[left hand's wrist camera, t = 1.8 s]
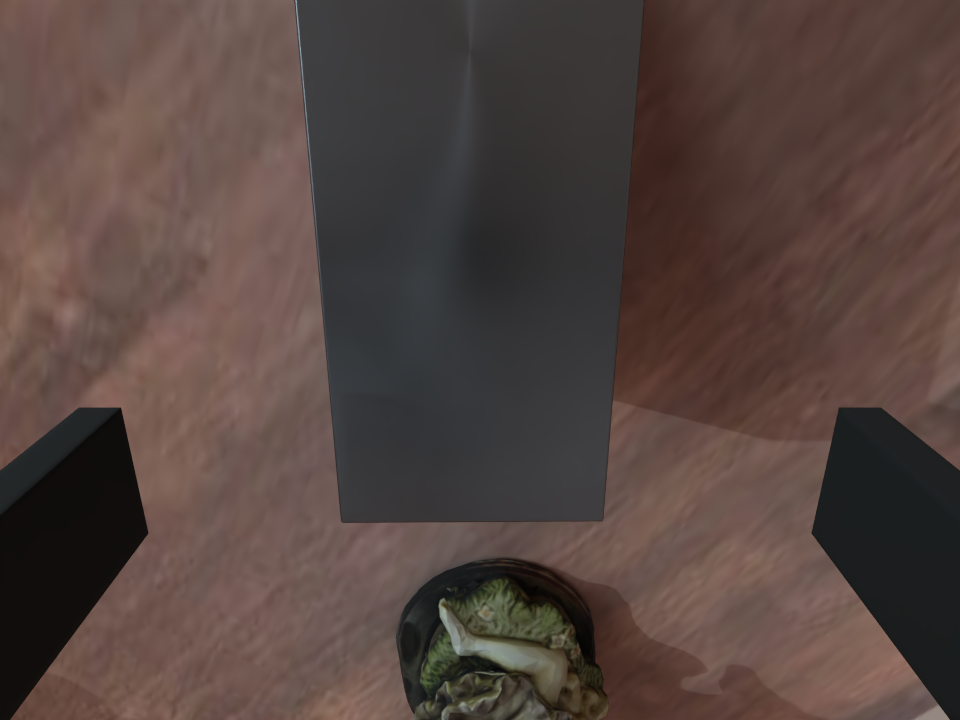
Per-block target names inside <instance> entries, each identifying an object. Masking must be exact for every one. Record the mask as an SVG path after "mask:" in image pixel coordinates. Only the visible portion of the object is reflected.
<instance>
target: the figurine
mask: <svg viewBox="0 0 960 720" xmlns="http://www.w3.org/2000/svg"><path fill="white" fill-rule="evenodd" d="M396 642H397V649H398V654H399V659H400V666H401V673H402V678H403V683H404V688H405V693H406V697H407V700H408V703H409V705H410V707H411V710H412V712H413V713H414V714H415V716H414V720H599V719H602V718H604V717H605V716H606V714H607V713H608V709H609V701H608V697H607V694H606V693H605V692H604V691H603V680H604V679H603V676H602V672H601V669H600V667H599V665H597V664H596V663H595V643H594V627H593V623H592V618H591V615H590V611H589V608H588V607H587V605H586V604H585V602H584V600H583V599H582V598H581V597H580V595H579V594H578V593H577V592H576V591H575V590H574V589H573V588H572V587H570V586H569V585H567V584H566V583H565V582H563V581H562V580H560V579H559V578H558V577H556V576H555V575H553V574H552V573H550V572H548V571H546V570H543V569H541V568H539V567H536V566H533V565H530V564H526V563H521V562H516V561H510V560H500V559H495V560H486V561H476V562H471V563H468V564H465V565H462V566H459V567H456V568H453V569H450V570H447V571H445V572H443V573H441V574H439V575H437V576H436V577H434V578H432V579H431V580H430V581H429V582H427V583H426V584H425V585H424V586H423V587H421V588H420V589H419V591H418V592H417V593H416V594H415V595H414V596H413V597H412V599H411V600H410V601H409V602H408V604H407V605H406V606H405V608H404V611H403V613H402V616H401V619H400V622H399V626H398V630H397V635H396Z"/></svg>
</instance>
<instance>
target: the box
mask: <svg viewBox="0 0 960 720" xmlns="http://www.w3.org/2000/svg"><path fill="white" fill-rule="evenodd" d="M294 1H295V12H296V23H297V34H298V45H299V57H300V68H301V79H302V90H303V101H304V112H305V124H306V135H307V146H308V157H309V168H310V179H311V191H312V202H313V213H314V224H315V235H316V246H317V258H318V269H319V280H320V291H321V302H322V313H323V325H324V336H325V347H326V358H327V369H328V381H329V392H330V403H331V414H332V425H333V436H334V448H335V459H336V470H337V481H338V492H339V503H340V515H341V521H342V522H343V523H381V522H553V521H603V516H604V503H605V491H606V478H607V466H608V453H609V440H610V428H611V415H612V403H613V390H614V377H615V365H616V352H617V340H618V327H619V314H620V302H621V289H622V277H623V264H624V251H625V239H626V226H627V213H628V201H629V188H630V176H631V163H632V150H633V138H634V125H635V113H636V100H637V87H638V75H639V62H640V50H641V37H642V24H643V12H644V0H294Z"/></svg>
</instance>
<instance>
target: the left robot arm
mask: <svg viewBox="0 0 960 720" xmlns="http://www.w3.org/2000/svg"><path fill="white" fill-rule="evenodd" d="M147 534H148V529H147V525H146V520H145V515H144V511H143V506H142V502H141V497H140V493H139V488H138V483H137V479H136V474H135V470H134V465H133V461H132V456H131V451H130V447H129V442H128V438H127V433H126V429H125V424H124V419H123V415H122V410H121V408H78V409H77V410H76V411H74V412H73V413H72V414H71V415H69V416H68V417H67V418H66V419H64V420H63V421H62V422H61V423H59V424H58V425H57V426H56V427H54V428H53V429H52V430H51V431H49V432H48V433H47V434H46V435H44V436H43V437H42V438H41V439H39V440H38V441H37V442H36V443H34V444H33V445H32V446H31V447H29V448H28V449H27V450H26V451H24V452H23V453H22V454H21V455H19V456H18V457H17V458H16V459H14V460H13V461H12V462H11V463H9V464H8V465H7V466H6V467H4V468H3V469H2V470H1V471H0V720H10V719H11V718H12V716H13V715H14V714H15V712H16V711H17V710H18V708H19V707H20V706H21V704H22V703H23V701H24V700H25V699H26V697H27V696H28V695H29V693H30V692H31V691H32V689H33V688H34V687H35V685H36V684H37V683H38V681H39V680H40V679H41V677H42V676H43V675H44V673H45V672H46V671H47V669H48V668H49V666H50V665H51V664H52V662H53V661H54V660H55V658H56V657H57V656H58V654H59V653H60V652H61V650H62V649H63V648H64V646H65V645H66V644H67V642H68V641H69V640H70V638H71V637H72V635H73V634H74V633H75V631H76V630H77V629H78V627H79V626H80V625H81V623H82V622H83V621H84V619H85V618H86V617H87V615H88V614H89V613H90V611H91V610H92V609H93V607H94V606H95V605H96V603H97V602H98V600H99V599H100V598H101V596H102V595H103V594H104V592H105V591H106V590H107V588H108V587H109V586H110V584H111V583H112V582H113V580H114V579H115V578H116V576H117V575H118V574H119V572H120V571H121V570H122V568H123V567H124V565H125V564H126V563H127V561H128V560H129V559H130V557H131V556H132V555H133V553H134V552H135V551H136V549H137V548H138V547H139V545H140V544H141V543H142V541H143V540H144V539H145V537H146V536H147ZM812 534H813V536H814V537H815V539H816V540H817V541H818V543H819V544H820V545H821V547H822V548H823V549H824V551H825V552H826V553H827V555H828V556H829V557H830V559H831V560H832V561H833V563H834V564H835V565H836V567H837V568H838V570H839V571H840V572H841V574H842V575H843V576H844V578H845V579H846V580H847V582H848V583H849V584H850V586H851V587H852V588H853V590H854V591H855V592H856V594H857V595H858V596H859V598H860V599H861V600H862V602H863V603H864V605H865V606H866V607H867V609H868V610H869V611H870V613H871V614H872V615H873V617H874V618H875V619H876V621H877V622H878V623H879V625H880V626H881V627H882V629H883V630H884V631H885V633H886V634H887V635H888V637H889V638H890V640H891V641H892V642H893V644H894V645H895V646H896V648H897V649H898V650H899V652H900V653H901V654H902V656H903V657H904V658H905V660H906V661H907V662H908V664H909V665H910V666H911V668H912V669H913V671H914V672H915V673H916V675H917V676H918V677H919V679H920V680H921V681H922V683H923V684H924V685H925V687H926V688H927V689H928V691H929V692H930V693H931V695H932V696H933V697H934V699H935V700H936V701H937V703H938V704H939V706H940V707H941V708H942V710H943V711H944V712H945V714H946V715H947V716H948V718H949V719H950V720H960V471H959V470H958V469H957V468H956V467H954V466H953V465H952V464H951V463H949V462H948V461H947V460H946V459H944V458H943V457H942V456H941V455H939V454H938V453H937V452H936V451H934V450H933V449H932V448H931V447H929V446H928V445H927V444H926V443H924V442H923V441H922V440H921V439H919V438H918V437H917V436H916V435H914V434H913V433H912V432H911V431H909V430H908V429H907V428H906V427H904V426H903V425H902V424H901V423H899V422H898V421H897V420H896V419H894V418H893V417H892V416H891V415H889V414H888V413H887V412H886V411H884V410H883V409H882V408H839V410H838V415H837V419H836V424H835V429H834V433H833V438H832V442H831V447H830V451H829V456H828V461H827V465H826V470H825V474H824V479H823V483H822V488H821V493H820V497H819V502H818V506H817V511H816V515H815V520H814V525H813V529H812Z"/></svg>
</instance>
